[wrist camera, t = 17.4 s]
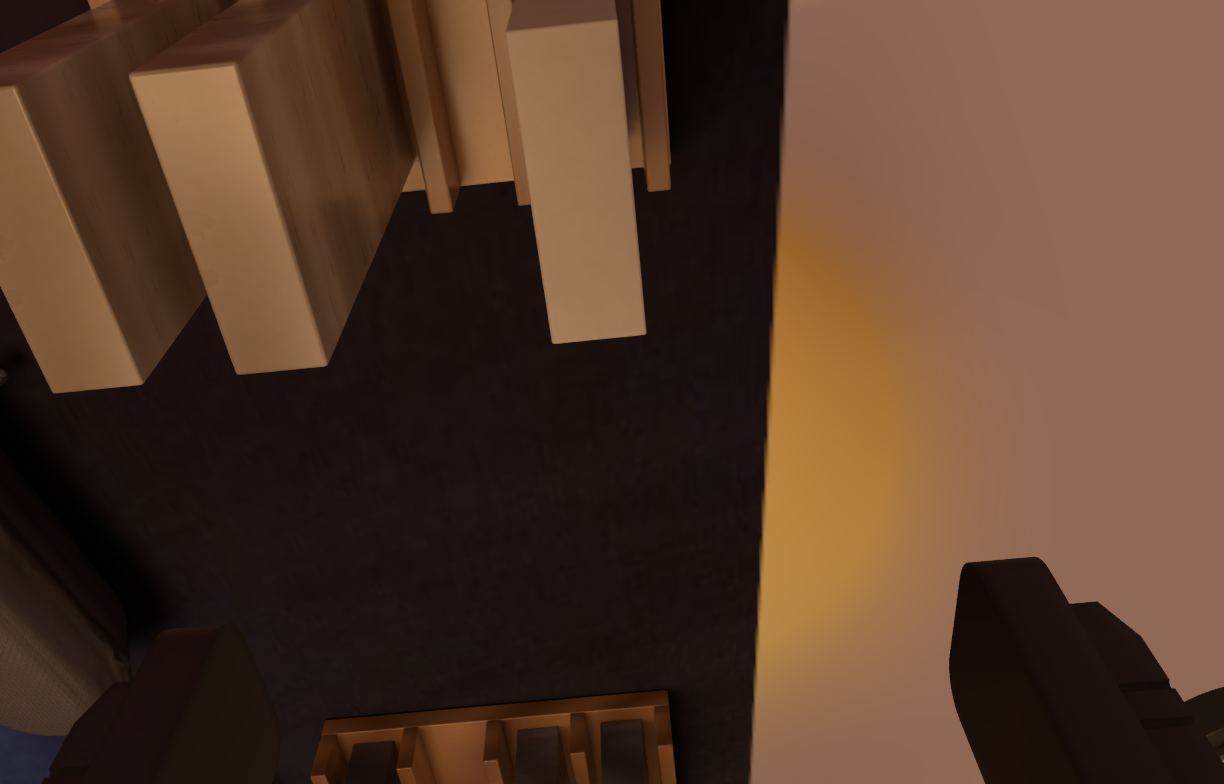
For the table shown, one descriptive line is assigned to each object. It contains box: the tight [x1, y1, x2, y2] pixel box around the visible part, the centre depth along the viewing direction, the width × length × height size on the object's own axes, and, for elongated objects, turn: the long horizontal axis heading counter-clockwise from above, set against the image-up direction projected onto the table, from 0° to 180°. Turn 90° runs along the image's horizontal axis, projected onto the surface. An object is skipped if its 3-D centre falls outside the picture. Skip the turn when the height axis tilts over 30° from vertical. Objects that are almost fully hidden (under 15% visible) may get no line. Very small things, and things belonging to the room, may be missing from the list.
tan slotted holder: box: [0, 0, 671, 393], centre depth 27 cm, size 17×9×15 cm, turn 96°
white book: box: [505, 0, 646, 344], centre depth 26 cm, size 2×7×14 cm, turn 6°
